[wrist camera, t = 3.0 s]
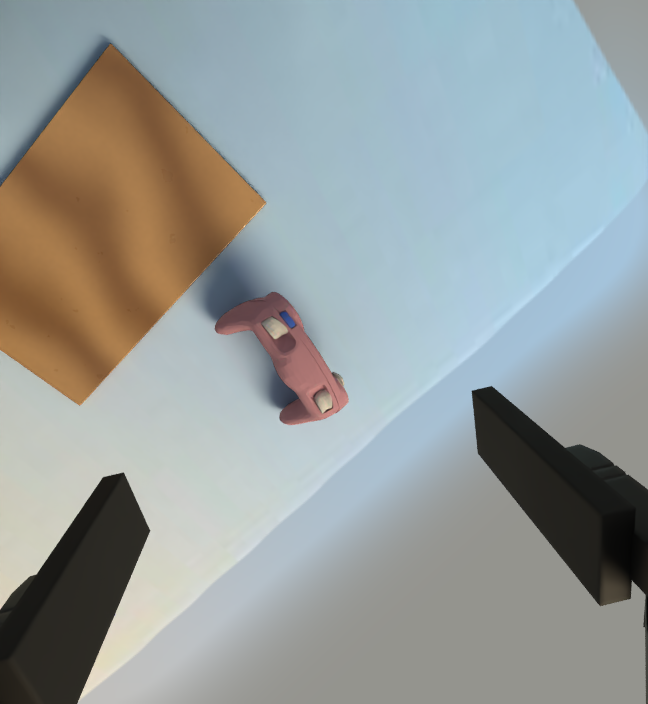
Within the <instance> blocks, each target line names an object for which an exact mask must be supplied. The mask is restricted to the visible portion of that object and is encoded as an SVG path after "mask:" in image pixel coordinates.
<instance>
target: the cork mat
mask: <svg viewBox="0 0 648 704" xmlns="http://www.w3.org/2000/svg"><path fill="white" fill-rule="evenodd" d="M265 204H266V202H265V201H264V200H263V199H262V198H261V197H260V196H259V195H258V194H257V192H256V191H255V190H254V189H253V188H252V187H251V186H250V185H249V184H248V183H247V182H246V181H245V180H244V179H243V178H242V177H241V176H240V175H239V174H238V173H237V172H236V171H235V170H234V169H233V168H232V167H231V166H230V165H229V164H228V163H227V162H226V161H225V160H224V159H223V158H222V157H221V156H220V155H219V154H218V153H217V151H216V150H215V149H214V148H213V147H212V146H211V145H210V144H209V143H208V142H207V141H206V140H205V139H204V138H203V137H202V136H201V135H200V134H199V133H198V132H197V131H196V130H195V129H194V128H193V127H192V126H191V125H190V124H189V123H188V122H187V121H186V120H185V119H184V118H183V117H182V116H181V115H180V114H179V113H178V112H177V111H176V109H175V108H174V107H173V106H172V105H171V104H170V103H169V102H168V101H167V100H166V99H165V98H164V97H163V96H162V95H161V94H160V93H159V92H158V91H157V90H156V89H155V88H154V87H153V86H152V85H151V84H150V83H149V82H148V81H147V80H146V79H145V78H144V77H143V76H142V75H141V74H140V73H139V72H138V71H137V70H136V68H135V67H134V66H133V65H132V64H131V63H130V62H129V61H128V60H127V59H126V58H125V57H124V56H123V55H122V54H121V53H120V52H119V51H118V50H117V49H116V48H115V47H114V46H113V45H112V44H109V46H108V47H107V48H106V50H105V51H104V52H103V54H102V55H101V56H100V57H99V59H98V60H97V61H96V63H95V64H94V65H93V67H92V68H91V69H90V70H89V72H88V73H87V74H86V76H85V77H84V78H83V80H82V81H81V82H80V83H79V85H78V86H77V87H76V89H75V90H74V91H73V93H72V94H71V95H70V96H69V98H68V99H67V100H66V102H65V103H64V104H63V106H62V107H61V108H60V109H59V111H58V112H57V113H56V115H55V116H54V117H53V119H52V120H51V121H50V122H49V124H48V125H47V126H46V128H45V129H44V130H43V132H42V133H41V134H40V135H39V137H38V138H37V139H36V141H35V142H34V143H33V145H32V146H31V147H30V148H29V150H28V151H27V152H26V154H25V155H24V156H23V158H22V159H21V160H20V161H19V163H18V164H17V165H16V167H15V168H14V169H13V171H12V172H11V173H10V174H9V176H8V177H7V178H6V180H5V181H4V182H3V184H2V185H1V186H0V350H1V351H3V352H4V353H6V354H7V355H8V356H10V357H11V358H13V359H14V360H15V361H17V362H18V363H20V364H21V365H23V366H24V367H25V368H27V369H28V370H30V371H31V372H33V373H34V374H35V375H37V376H38V377H40V378H41V379H42V380H44V381H45V382H47V383H48V384H50V385H51V386H52V387H54V388H55V389H57V390H58V391H59V392H61V393H62V394H64V395H65V396H67V397H68V398H69V399H71V400H72V401H74V402H75V403H77V404H78V405H81V404H82V403H83V402H84V401H85V400H86V399H87V398H88V397H89V396H90V395H91V393H92V392H93V391H94V390H95V389H96V388H97V387H98V386H99V385H100V384H101V383H102V381H103V380H104V379H105V378H106V377H107V376H108V375H109V374H110V373H111V372H112V371H113V370H114V368H115V367H116V366H117V365H118V364H119V363H120V362H121V361H122V360H123V359H124V358H125V356H126V355H127V354H128V353H129V352H130V351H131V350H132V349H133V348H134V347H135V346H136V345H137V343H138V342H139V341H140V340H141V339H142V338H143V337H144V336H145V335H146V334H147V333H148V331H149V330H150V329H151V328H152V327H153V326H154V325H155V324H156V323H157V322H158V321H159V320H160V318H161V317H162V316H163V315H164V314H165V313H166V312H167V311H168V310H169V309H170V308H171V306H172V305H173V304H174V303H175V302H176V301H177V300H178V299H179V298H180V297H181V296H182V294H183V293H184V292H185V291H186V290H187V289H188V288H189V287H190V286H191V285H192V284H193V283H194V281H195V280H196V279H197V278H198V277H199V276H200V275H201V274H202V273H203V272H204V271H205V269H206V268H207V267H208V266H209V265H210V264H211V263H212V262H213V261H214V260H215V259H216V258H217V256H218V255H219V254H220V253H221V252H222V251H223V250H224V249H225V248H226V247H227V246H228V244H229V243H230V242H231V241H232V240H233V239H234V238H235V237H236V236H237V235H238V234H239V232H240V231H241V230H242V229H243V228H244V227H245V226H246V225H247V224H248V223H249V222H250V221H251V219H252V218H253V217H254V216H255V215H256V214H257V213H258V212H259V211H260V210H261V209H262V207H263V206H264V205H265Z"/></svg>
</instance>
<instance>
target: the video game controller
mask: <svg viewBox="0 0 648 704" xmlns="http://www.w3.org/2000/svg"><path fill="white" fill-rule="evenodd" d="M246 330H252V331H253V332H254V333H255V335H256V336H257V338H258V339H259V341H260V342H261V344H262V345H263V347H264V348H265V349H266V351H267V352H268V353H269V355H270V356H271V358H272V361H273V364H274V367H275V369H276V371H277V373H278V375H279V377H280V378H281V380H282V381H283V382H284V383H285V384H286V385H287V386H288V387H290V388H291V389H292V390H294V391H295V392H296V394H297V396H298V397H299V399H297V400H295V401H293V402H292V403H290V404H288V405H287V406H286V407H285V408H284V409H283V410H282V411H281V413H280V417H279V418H280V420H281V421H282V422H283V423H284V424H287V425H295V424H301V423H306V422H311V421H317V420H322V419H325V418H327V417H329V416H331V415H333V414H334V413H337V412H338V411H340V410H341V409H342V408H343V407H344V406H345V405H346V404H347V403H348V395H347V393H346V391H345V389H344V387H343V386H344V381H343V379H342V377H341V376H340V375H339V374H337V373H334V372H333V373H331V371H330V369H329V368H328V366H327V365H326V363H325V361H324V360H323V358H322V356H321V355H320V353H319V352H318V350H317V349H316V347H315V346H314V344H313V343H312V341H311V340H310V339H309V337H308V336H307V335H306V333H305V332H304V328H303V324H302V322H301V319H300V317H299V315H298V313H297V312H296V310H295V309H294V308H293V306H292V305H291V304H290V303H289V302H288V301H287V300H286V299H285V298H284V297H283V296H282V295H280V294H278V293H276V292H271V293H270V294H268V295H267V296H266V297H263V298H256V299H253V300H250V301H247V302H244V303H242V304H240V305H238V306H236V307H234V308H233V309H231V310H230V311H228V312H227V313H225V314H224V315H223V316H222V317H221V318H220V319H219V320H218V321H217V323H216V325H215V331H216V332H217V333H219V334H225V335H228V334H232V333H236V332H239V331H246Z"/></svg>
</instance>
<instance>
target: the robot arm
mask: <svg viewBox="0 0 648 704" xmlns="http://www.w3.org/2000/svg"><path fill="white" fill-rule="evenodd" d="M472 398H473V408H474V418H475V429H476V439H477V449H478V454H479V455H480V456H481V458H482V459H483V460H484V461H485V463H486V464H487V465H488V466H489V468H490V469H491V470H492V471H493V473H494V474H495V475H496V476H497V478H498V479H499V480H500V481H501V483H502V484H503V485H504V486H505V488H506V489H507V490H508V491H509V492H510V494H511V495H512V497H513V498H514V499H515V500H516V501H517V503H518V504H519V505H520V507H521V508H522V509H523V510H524V511H525V513H526V514H527V515H528V517H529V518H530V519H531V520H532V521H533V523H534V524H535V525H536V526H537V528H538V529H539V530H540V532H541V533H542V534H543V535H544V536H545V538H546V539H547V540H548V542H549V543H550V544H551V545H552V547H553V548H554V549H555V550H556V552H557V553H558V554H559V555H560V557H561V558H562V559H563V560H564V562H565V563H566V564H567V565H568V566H569V568H570V569H571V570H572V571H573V573H574V574H575V575H576V577H577V578H578V579H579V580H580V582H581V583H582V584H583V585H584V587H585V588H586V589H587V590H588V592H589V593H590V594H591V595H592V597H593V598H594V599H595V600H596V602H597V603H598V604H599V605H600V606H603V605H607V604H611V603H614V602H619V601H623V600H627V599H630V598H631V583H632V581H633V582H634V583H635V584H636V585H637V586H638V587H639V588H640V589H641V590H642V591H643V592H644V593H645V595H646V599H645V612H644V627H645V637H646V638H645V639H646V643H645V644H646V704H648V490H647V489H646V488H645V487H644V486H642V485H641V484H640V483H639V482H637V481H636V480H635V479H633V478H632V477H631V476H629V475H626V473H625V472H624V471H623V470H622V469H620V468H619V467H618V466H614V464H613V463H612V462H611V461H610V460H608V459H607V458H606V457H605V456H603V455H602V454H601V453H599V452H597V451H595V450H592V449H590V448H588V447H585V446H583V445H575V446H571V447H567V448H564V447H563V446H562V445H561V444H560V443H558V442H557V441H556V440H555V439H554V438H553V437H551V436H550V435H549V434H548V433H547V432H545V431H544V430H543V429H542V428H541V427H540V426H538V425H537V424H536V423H535V422H534V421H532V420H531V419H530V418H529V417H528V416H526V415H525V414H524V413H523V412H522V411H520V410H519V409H518V408H517V407H516V406H515V405H513V404H512V403H511V402H510V401H509V400H508V399H506V398H505V397H504V396H503V395H502V394H500V393H499V392H498V391H497V390H496V389H495V388H493V387H492V386H491V387H486V388H482V389H477V390H474V391H472ZM149 532H150V530H149V527H148V525H147V523H146V521H145V518H144V516H143V514H142V512H141V510H140V507H139V505H138V503H137V501H136V499H135V496H134V494H133V492H132V490H131V487H130V485H129V483H128V481H127V479H126V476H125V474H124V473H119V474H115V475H111V476H107V477H103V478H102V480H101V481H100V483H99V484H98V486H97V487H96V489H95V490H94V491H93V493H92V494H91V496H90V497H89V499H88V500H87V502H86V503H85V505H84V506H83V508H82V509H81V510H80V512H79V513H78V515H77V516H76V518H75V519H74V521H73V522H72V524H71V525H70V526H69V528H68V529H67V531H66V532H65V534H64V535H63V537H62V538H61V540H60V541H59V543H58V544H57V545H56V547H55V548H54V550H53V551H52V553H51V554H50V556H49V557H48V559H47V560H46V562H45V563H44V564H43V566H42V567H41V569H40V570H39V572H38V573H37V575H33V576H30V577H29V578H28V579H27V580H26V581H25V582H23V583H22V584H21V585H20V586H19V587H18V588H17V589H16V590H15V591H14V592H13V593H12V594H11V596H10V597H9V598H8V600H7V601H6V603H5V604H4V605H3V607H2V608H1V610H0V704H77V703H78V700H79V698H80V696H81V693H82V691H83V688H84V686H85V684H86V681H87V679H88V677H89V674H90V672H91V670H92V667H93V665H94V662H95V660H96V658H97V655H98V653H99V651H100V648H101V646H102V644H103V641H104V639H105V636H106V634H107V632H108V629H109V627H110V625H111V622H112V620H113V618H114V615H115V613H116V610H117V608H118V606H119V603H120V601H121V599H122V596H123V594H124V591H125V589H126V587H127V584H128V582H129V580H130V577H131V575H132V573H133V570H134V568H135V565H136V563H137V561H138V558H139V556H140V554H141V551H142V549H143V547H144V544H145V542H146V539H147V537H148V535H149Z"/></svg>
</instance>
